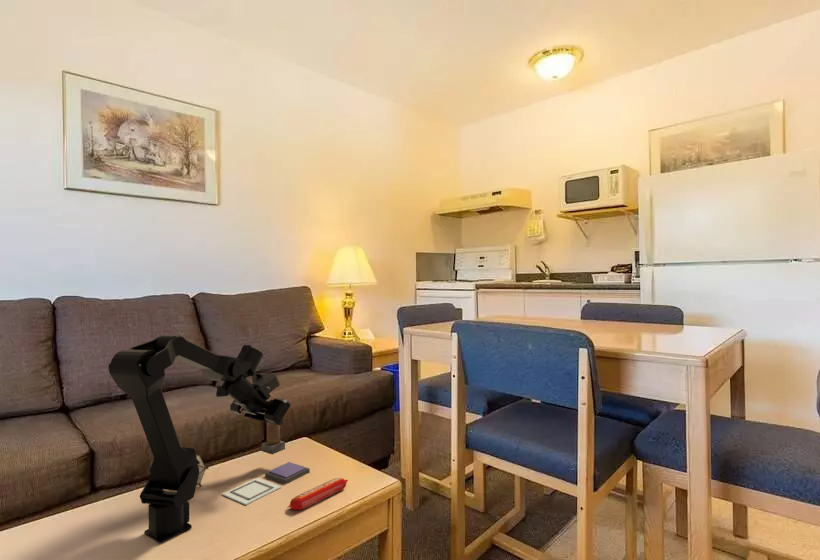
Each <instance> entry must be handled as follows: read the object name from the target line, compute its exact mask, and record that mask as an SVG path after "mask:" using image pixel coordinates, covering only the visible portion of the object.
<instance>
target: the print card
mask: <svg viewBox="0 0 820 560" xmlns="http://www.w3.org/2000/svg"><path fill="white" fill-rule="evenodd" d="M279 489H282V486H281V485H278V484H276V483H272V482H270V481H268V480H264V479H262V478H259V477H257V478H254V479H252V480H250V481H248V482H244V483H243V484H241V485H239V486H237V487H234V488H232V489H229V490H227V491H225V492H223V493H222V496H224V497H226V498H229V499H231V500H233V501H236V502H237V503H240V504H242V505H245V506H247V505H249V504H252V503H254V502H255V501H257V500H260V499H262V498H263V497H266V496H267V495H269V494H271V493H274V492H275V491H277V490H279Z"/></svg>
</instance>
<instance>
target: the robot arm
mask: <svg viewBox="0 0 820 560" xmlns="http://www.w3.org/2000/svg"><path fill="white" fill-rule="evenodd" d="M263 358H264V353H263V352H262V351H260V350H259V349H257V348H255V347H252V345H250V344H242V347H241V349H240V351H239V354H238V355H237V357H235V356H230V355H225V354H224V355H223V354H216V353H214V352H212V351H211V350H208V349H205V348H204V347H202V346H200V345H198V344H196V343H193V342H191V341H189V340H187V339H186V338H184V337H183V336H181V335H179V334H162V335H158V336H157V337H155V338H153V339H152V340H149V341H146V342H142V343H140V344H138V345H134V346H132V347H130V348H128V349H122V350H119V351H118V352H116V353H115V354H114V355H113V357H112V358H111V361H110V363H109V364H108V373H109V375H110V376H111V377H112V380H113V381H114V383H115V384H116V386H117V387H118V388H119V389H120V390H122V391H123V392H124V393H125V394H126V395H128V396H129V397H130V398H131V400H132V402H133V405H134V408H135V410H136V414H137V415H138V419H139V421H140V424H141V426H142V430H143V432H144V435H145V437H146V440H147V443H148V446H149V448H150V451H151V453H152V455H153V459H152V461H151V463H150V467H149V473H150V477H149V478H148V479H147V482H146V484H145V485H144V487H143V489H142V491H141V492H140V493H139V498H140V501H141V504H143V505H144V504H146V505H147V504H148V516H147V517H148V529H145V530H144V532H143V533H144V535H145V536H148V537H149V538H150V539H151V540H153V541H155V542H157V543H158V544H163V543H164V542H166V541H168V540H171V539H173V538H174V537H177V536H179V535H180V534H183V533H185V532H187V531H189V530H190V529H192V527H193V525H192V524H191V523H189V522H190V501H191V500H192V499H193V498H194V497H195V494H196V489H197V486H198V485H197V481H198V477H199V467H198V464H200V462H199V461H198V460H197V457H196V455H197V452H196V450H195V449H194V447H185V446H182V445H181V443H180V440H179V437H178V434H177V432H176V428H175V426H174V422H173V420H172V416H171V414H170V411H169V408H168V405H167V402H166V399H165V397H164V394H163V391H162V384H163V382H164V380H165V377H166V373H165V372H166V371H165V370H166V369H167V368H169V367H171V366H172V365H173V364H174V361H175V360H176V361H179V362H182V363H184V364H186V365H189V366H190V367H194V368H196V369H198V370H199V371H200V373H201V375H202V376H204V377H205V378H206V379H208V380H210V381H217V382H218V381H219V382H221V383H220V385H217V386H216V393H215V396H216V397H217V398H221V397H223V398H224V397H228V396H229V397H230V398H231V399H232V401H231V402H232V403H231V404H230V407H229V408H230V411H231V412H232V413H233V414H234V415H238V416H241V415H242V412H243V413H244V417H245V418H249V419H253V420H255V421H256V420H257V421H261V422H263V423H266V424H267V423H272V424H276V425H280V427H281V426H282V425H283V423H284V420H283V419H284V417H285V416H286V413H288V411H289V409H290V407H291V406H292V405H291V404H292V403H291V402H290V401H289V400H288V399H286V398H282V397H275V398H273V399H270V398H271V395H272V394H271V393H272V392H273V391H275V390H276V389H277V388H279V387H280V386H281V384H280V381H279V379H278V376H277V374H273V373H269V372H267V373H257V370H258V368H259V366H260V364H261V362H262V360H263ZM249 377H251V378H252V379H251V380H252V382H251V381H250V380H249V379H248V378H249ZM269 399H270V400H269ZM268 404H269V405H268ZM196 485H197V486H196Z"/></svg>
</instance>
